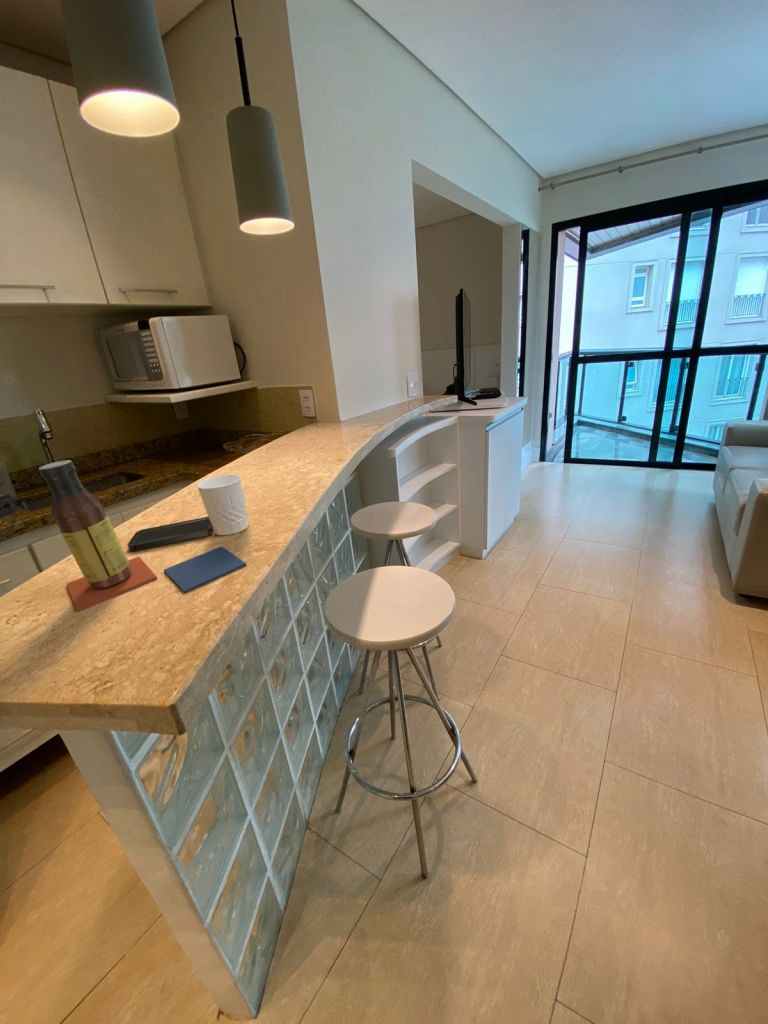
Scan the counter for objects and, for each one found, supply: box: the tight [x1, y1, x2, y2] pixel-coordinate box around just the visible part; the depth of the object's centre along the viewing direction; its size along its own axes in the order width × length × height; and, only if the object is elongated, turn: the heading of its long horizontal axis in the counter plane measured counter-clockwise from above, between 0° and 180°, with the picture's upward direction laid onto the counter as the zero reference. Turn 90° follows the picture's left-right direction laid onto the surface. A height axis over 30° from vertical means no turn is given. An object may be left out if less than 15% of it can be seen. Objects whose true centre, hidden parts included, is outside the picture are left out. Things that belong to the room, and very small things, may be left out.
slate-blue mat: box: [163, 545, 247, 594], centre depth 67 cm, size 10×10×1 cm
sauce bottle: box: [38, 459, 132, 589], centre depth 62 cm, size 6×6×20 cm
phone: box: [127, 516, 214, 552], centre depth 81 cm, size 8×1×15 cm
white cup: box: [196, 474, 250, 536], centre depth 80 cm, size 8×8×10 cm
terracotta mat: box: [66, 556, 158, 613], centre depth 66 cm, size 11×11×1 cm
